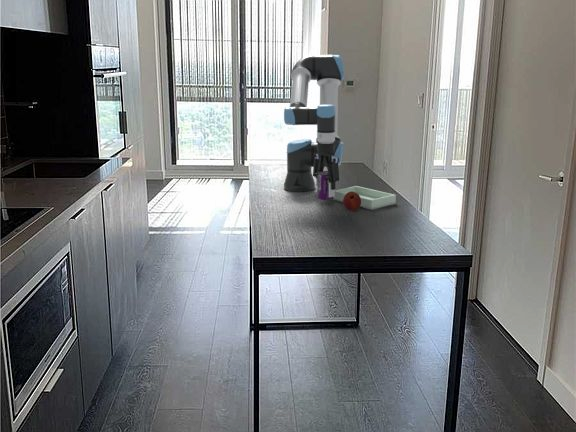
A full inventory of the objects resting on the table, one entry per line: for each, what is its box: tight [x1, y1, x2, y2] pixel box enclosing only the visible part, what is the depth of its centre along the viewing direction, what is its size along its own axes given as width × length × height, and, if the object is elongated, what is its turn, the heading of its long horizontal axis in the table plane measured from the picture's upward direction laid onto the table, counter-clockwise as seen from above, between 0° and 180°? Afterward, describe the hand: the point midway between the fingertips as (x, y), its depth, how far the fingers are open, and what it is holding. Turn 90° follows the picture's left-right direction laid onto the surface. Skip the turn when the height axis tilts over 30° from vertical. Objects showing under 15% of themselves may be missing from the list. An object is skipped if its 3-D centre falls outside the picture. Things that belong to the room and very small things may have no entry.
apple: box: [342, 192, 361, 212], centre depth 230 cm, size 7×8×8 cm
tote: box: [332, 185, 397, 211], centre depth 244 cm, size 24×15×4 cm, turn 38°
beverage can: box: [316, 170, 334, 202], centre depth 241 cm, size 7×7×12 cm
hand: (325, 194), depth 242 cm, fingers closed on beverage can, 7 cm apart
